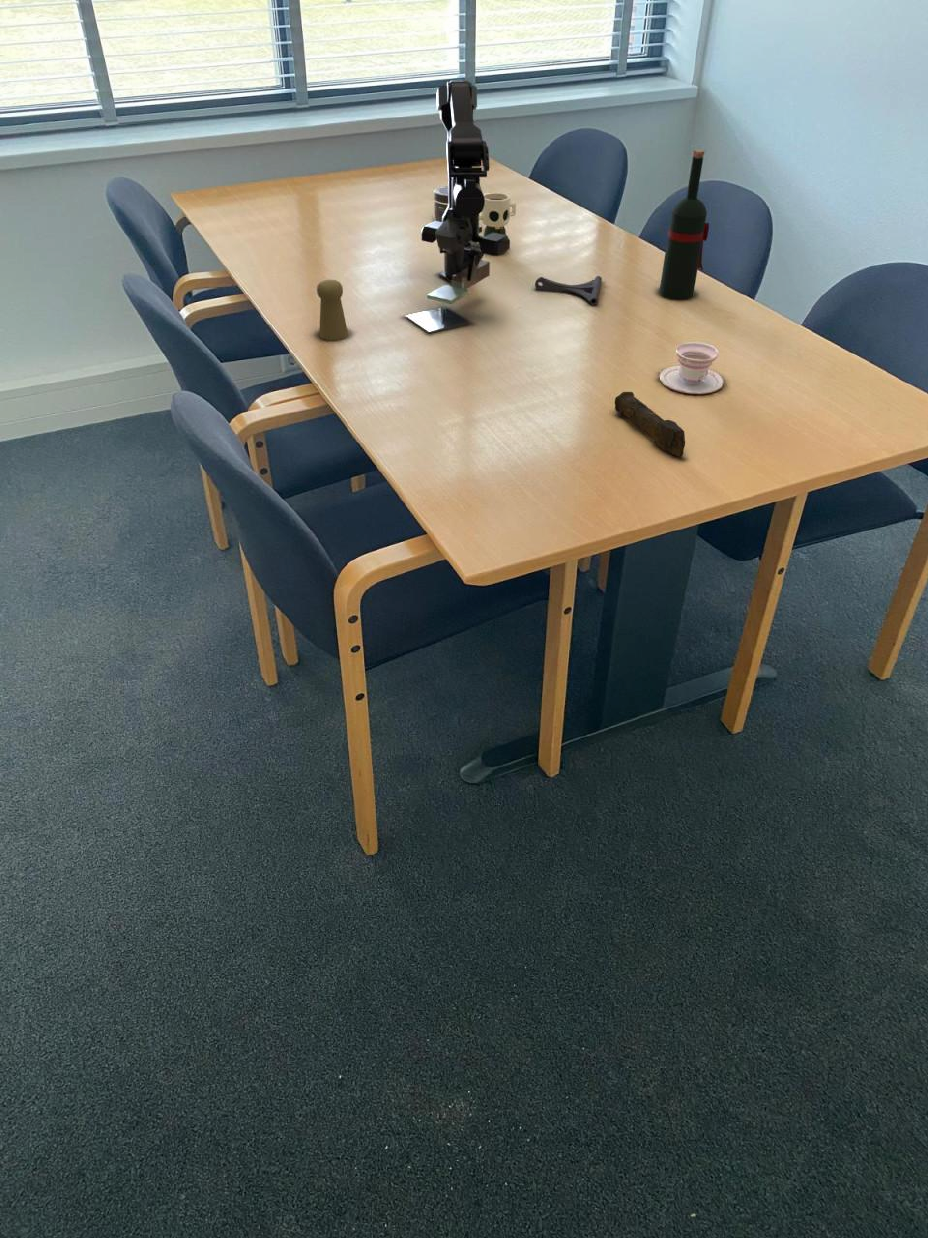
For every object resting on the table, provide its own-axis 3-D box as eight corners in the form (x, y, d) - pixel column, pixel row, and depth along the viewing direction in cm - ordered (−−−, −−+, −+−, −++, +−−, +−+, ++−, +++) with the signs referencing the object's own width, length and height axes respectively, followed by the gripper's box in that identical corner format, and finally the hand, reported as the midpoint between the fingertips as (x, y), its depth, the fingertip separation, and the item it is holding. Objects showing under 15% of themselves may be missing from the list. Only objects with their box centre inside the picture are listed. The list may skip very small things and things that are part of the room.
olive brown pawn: (352, 331, 192) (349, 278, 185) (340, 342, 188) (336, 288, 181) (326, 327, 194) (322, 274, 187) (314, 337, 189) (308, 284, 182)
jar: (477, 218, 253) (477, 189, 248) (457, 228, 246) (458, 197, 241) (447, 212, 257) (447, 183, 252) (427, 221, 250) (426, 191, 245)
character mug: (479, 257, 228) (480, 202, 220) (469, 248, 233) (469, 194, 225) (519, 252, 231) (522, 198, 223) (508, 244, 236) (510, 190, 228)
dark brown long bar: (611, 412, 165) (614, 388, 162) (631, 408, 166) (634, 385, 163) (666, 462, 152) (670, 437, 149) (687, 458, 153) (692, 433, 150)
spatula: (473, 271, 205) (473, 258, 203) (496, 276, 202) (497, 263, 201) (427, 298, 192) (426, 284, 190) (451, 304, 190) (451, 289, 188)
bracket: (538, 278, 218) (539, 266, 216) (601, 282, 215) (602, 270, 214) (530, 300, 207) (531, 288, 205) (597, 305, 205) (598, 293, 203)
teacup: (709, 401, 169) (716, 369, 165) (649, 385, 174) (654, 354, 170) (731, 377, 177) (738, 346, 173) (673, 362, 182) (678, 332, 178)
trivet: (405, 317, 198) (405, 315, 198) (445, 308, 202) (445, 306, 202) (429, 333, 192) (429, 331, 191) (469, 324, 196) (469, 321, 195)
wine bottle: (708, 294, 210) (734, 151, 191) (673, 302, 207) (696, 157, 187) (686, 283, 216) (709, 143, 196) (652, 290, 212) (672, 148, 193)
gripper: (405, 204, 185) (407, 281, 195) (484, 220, 178) (482, 299, 188) (435, 191, 193) (436, 266, 203) (512, 206, 185) (509, 283, 195)
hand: (464, 279), depth 197 cm, fingers closed on spatula, 2 cm apart
